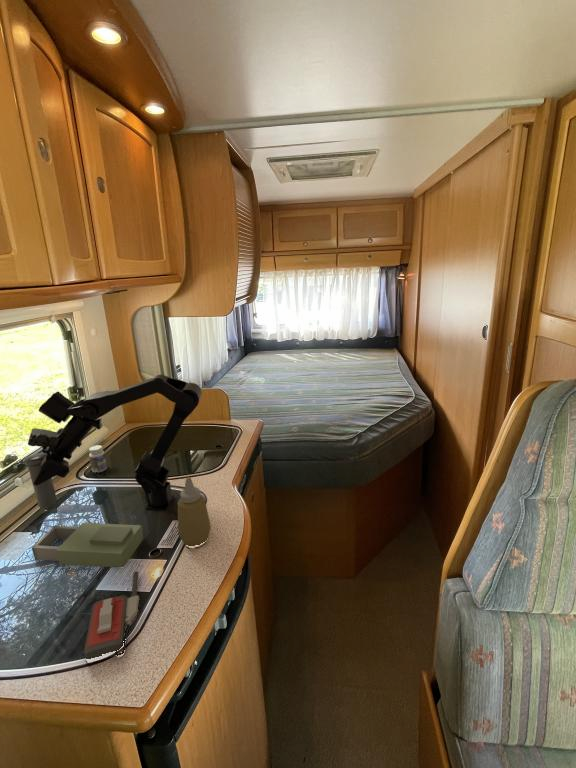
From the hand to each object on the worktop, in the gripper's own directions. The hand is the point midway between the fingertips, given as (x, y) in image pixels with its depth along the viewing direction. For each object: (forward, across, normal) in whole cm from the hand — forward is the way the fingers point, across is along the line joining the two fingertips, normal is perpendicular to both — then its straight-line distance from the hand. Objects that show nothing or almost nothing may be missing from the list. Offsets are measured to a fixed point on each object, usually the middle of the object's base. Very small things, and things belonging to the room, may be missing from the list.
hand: (35, 480), depth 101 cm
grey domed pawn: (+4, 0, +6) cm, 8 cm away
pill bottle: (-1, -25, +20) cm, 32 cm away
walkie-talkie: (0, +42, +20) cm, 46 cm away
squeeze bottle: (-14, +29, +34) cm, 46 cm away
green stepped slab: (+3, +18, +17) cm, 25 cm away
